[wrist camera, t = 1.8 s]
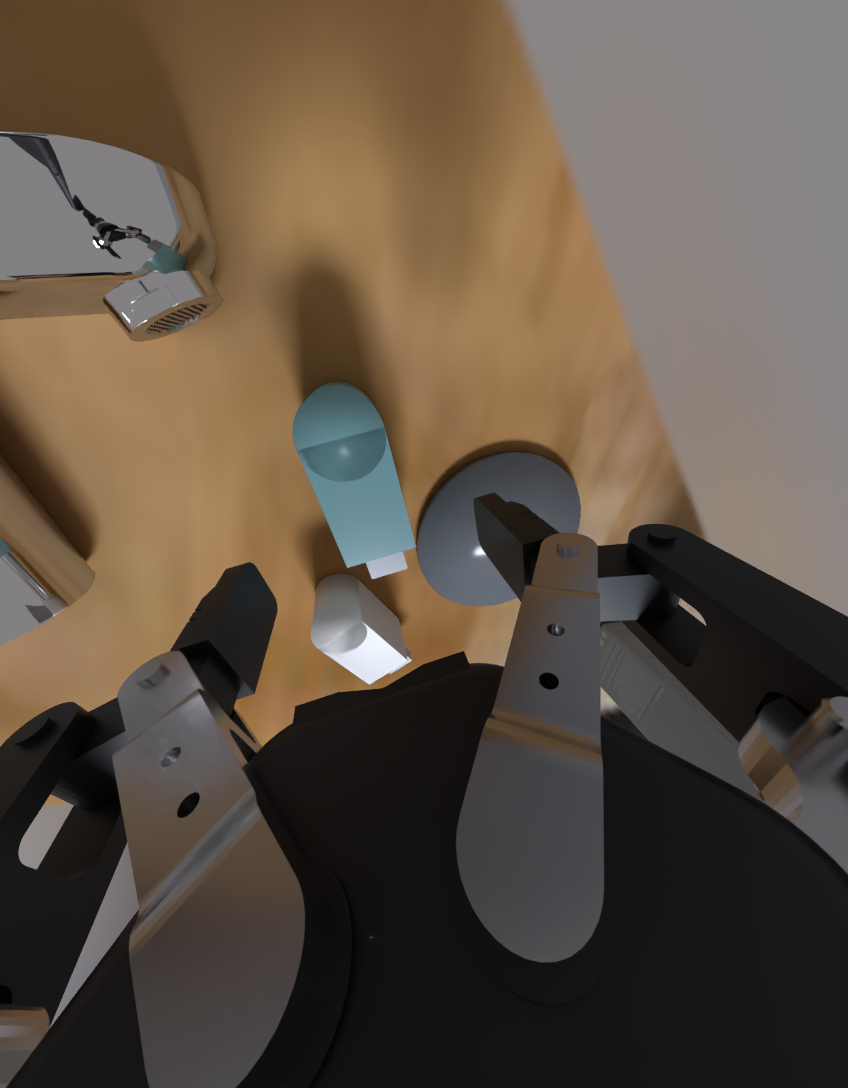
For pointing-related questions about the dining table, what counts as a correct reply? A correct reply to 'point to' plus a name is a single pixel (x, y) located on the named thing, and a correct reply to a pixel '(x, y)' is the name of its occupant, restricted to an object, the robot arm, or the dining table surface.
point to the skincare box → (666, 707)
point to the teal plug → (354, 476)
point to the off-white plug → (357, 628)
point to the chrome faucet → (87, 306)
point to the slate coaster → (452, 526)
